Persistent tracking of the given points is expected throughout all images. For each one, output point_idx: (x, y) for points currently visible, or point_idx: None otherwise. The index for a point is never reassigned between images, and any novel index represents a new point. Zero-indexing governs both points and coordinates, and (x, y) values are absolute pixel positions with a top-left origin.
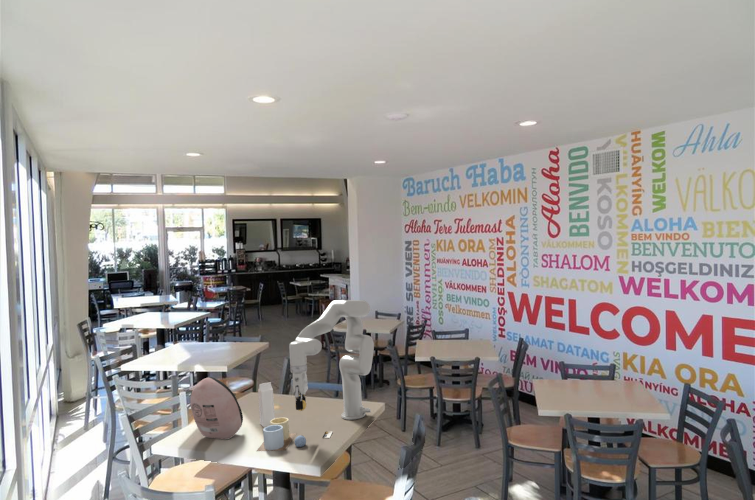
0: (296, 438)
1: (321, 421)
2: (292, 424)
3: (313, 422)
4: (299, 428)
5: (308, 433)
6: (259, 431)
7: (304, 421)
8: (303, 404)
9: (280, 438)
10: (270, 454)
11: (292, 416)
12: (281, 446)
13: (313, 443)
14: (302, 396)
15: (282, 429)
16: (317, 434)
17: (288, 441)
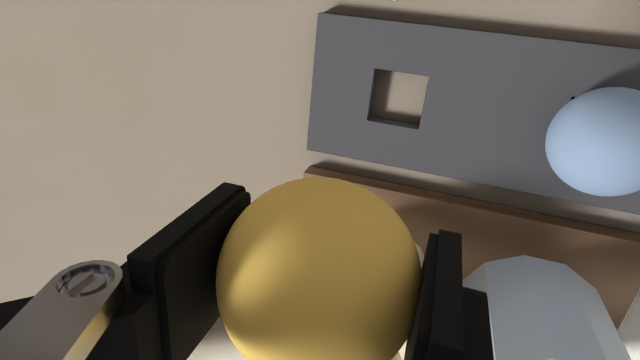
0: (637, 188)
1: (57, 6)
2: (119, 198)
3: (79, 65)
4: (180, 154)
5: (274, 85)
6: (215, 355)
7: (69, 128)
8: (394, 255)
9: (601, 323)
10: (623, 327)
11: (10, 200)
12: (578, 276)
13: (509, 20)
14: (141, 328)
15: (572, 352)
16: (304, 7)
17: (458, 225)
